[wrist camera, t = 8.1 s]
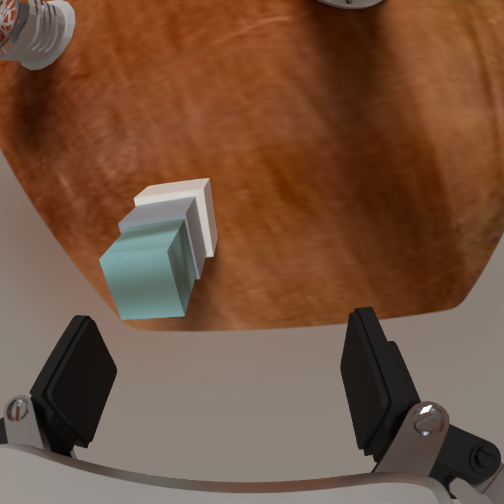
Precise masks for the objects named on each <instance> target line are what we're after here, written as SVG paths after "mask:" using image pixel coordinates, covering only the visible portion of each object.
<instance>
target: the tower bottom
mask: <svg viewBox="0 0 504 504" xmlns="http://www.w3.org/2000/svg"><path fill="white" fill-rule="evenodd" d="M193 196H196V201H197V207H198V212H199V217H200V223H201V228H202V233H203V238H204V243H205V248H206V253H207V254H206V257H214V253H215V248H216V244H217V239H218V236H217V229H216V222H215V214H214V207H213V200H212V192H211V185H210V178H205V179H196V180H188V181H181V182H173V183H166V184H159V185H152V186H148V187H147V188H145V189H144V190H143V191H142V192H141V193H139V194H138V195H137V196H136V197H135V198H134V201H135V206H138V205H144V204H150V203H155V202H161V201H168V200H174V199H180V198H187V197H193Z"/></svg>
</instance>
